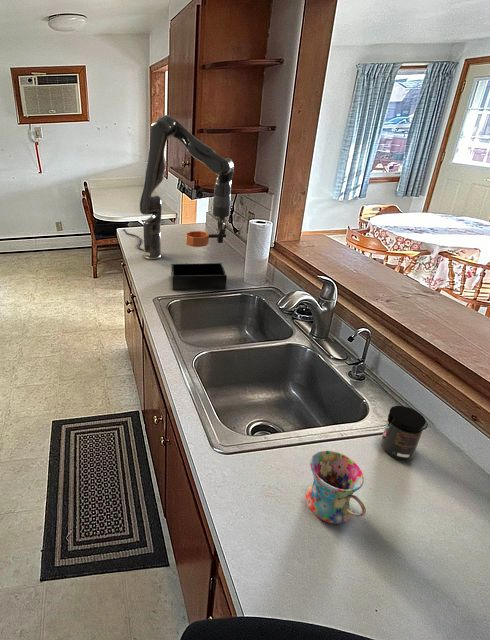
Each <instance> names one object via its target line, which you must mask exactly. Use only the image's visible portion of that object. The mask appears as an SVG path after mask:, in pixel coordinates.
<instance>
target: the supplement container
mask: <svg viewBox="0 0 490 640" xmlns="http://www.w3.org/2000/svg"><path fill="white" fill-rule="evenodd" d="M426 423H427V421H426V418H425V417H424V416H423V414H421V413H420V412H419V411H417V410H415V409H414V408H411V407H408V406H405V405H395V406H392V407H390V408H389V412H388V415H387V419H386V423H385V425H384V429H383V433H382V436H381V439H380V447H381V449H382V450H383V451H384V452H385V453H386V454H387V455H388V456H389V457H391V458H393V459H395V460H399V461H409V460H412V459H413V458H414V457H415V453H416V452H417V448H418V446H419V442H420V439H421V437H422V434H423V432H424V430H425V426H426Z"/></svg>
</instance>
